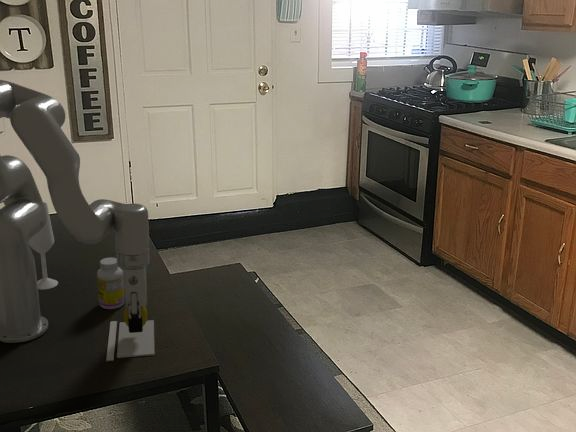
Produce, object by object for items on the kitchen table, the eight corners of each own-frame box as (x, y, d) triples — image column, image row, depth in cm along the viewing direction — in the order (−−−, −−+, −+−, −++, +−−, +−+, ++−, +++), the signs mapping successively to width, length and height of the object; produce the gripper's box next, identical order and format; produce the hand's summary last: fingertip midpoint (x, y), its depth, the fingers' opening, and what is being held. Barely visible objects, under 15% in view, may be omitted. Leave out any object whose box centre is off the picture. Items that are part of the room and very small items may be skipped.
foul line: (106, 361, 142) (106, 360, 142) (110, 322, 159) (110, 321, 159) (113, 360, 142) (113, 359, 142) (117, 322, 159) (117, 321, 159)
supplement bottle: (98, 300, 170) (95, 257, 165) (122, 297, 172) (120, 254, 168) (100, 311, 164) (97, 267, 160) (125, 308, 166) (123, 264, 162)
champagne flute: (63, 283, 179) (56, 204, 171) (43, 291, 173) (34, 210, 165) (48, 277, 182) (40, 199, 174) (28, 285, 177) (19, 205, 169)
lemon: (142, 337, 148) (141, 307, 145) (120, 334, 149) (119, 304, 146) (151, 326, 153) (150, 297, 151) (130, 323, 154) (129, 294, 151)
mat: (116, 357, 144) (116, 356, 143) (119, 323, 158) (119, 322, 158) (154, 355, 145) (154, 353, 145) (153, 321, 160) (153, 320, 160)
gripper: (149, 271, 138) (152, 342, 144) (149, 242, 153) (151, 307, 159) (114, 272, 136) (118, 345, 142) (118, 243, 152) (121, 309, 158)
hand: (136, 324), depth 151 cm, fingers closed on lemon, 5 cm apart
